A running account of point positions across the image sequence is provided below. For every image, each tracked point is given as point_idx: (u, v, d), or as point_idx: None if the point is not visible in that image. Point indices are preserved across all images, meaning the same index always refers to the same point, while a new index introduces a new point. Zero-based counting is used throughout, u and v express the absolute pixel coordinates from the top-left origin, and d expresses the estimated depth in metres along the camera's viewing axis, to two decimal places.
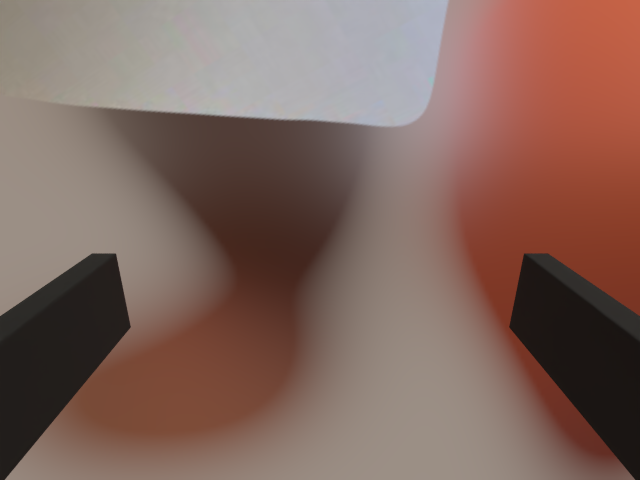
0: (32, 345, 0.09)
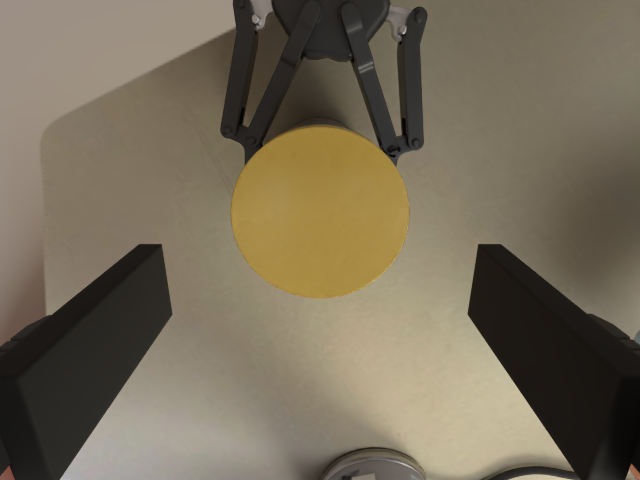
0: (102, 325, 0.09)
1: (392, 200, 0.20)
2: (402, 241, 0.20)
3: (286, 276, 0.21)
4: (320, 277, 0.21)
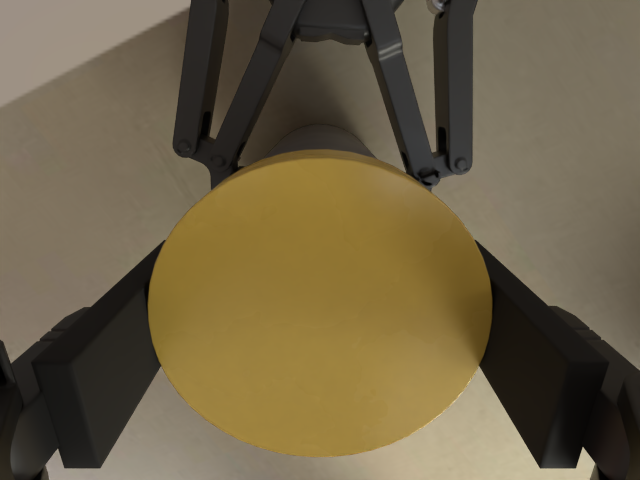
0: (137, 316, 0.10)
1: (461, 297, 0.10)
2: (475, 368, 0.11)
3: (258, 424, 0.12)
4: (320, 425, 0.12)
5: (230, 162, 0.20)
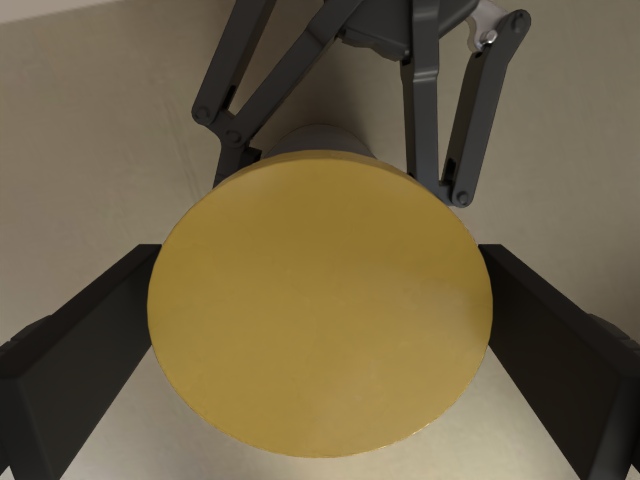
0: (101, 325, 0.09)
1: (297, 194, 0.09)
2: (396, 178, 0.09)
3: (423, 398, 0.11)
4: (440, 344, 0.10)
5: (245, 141, 0.20)
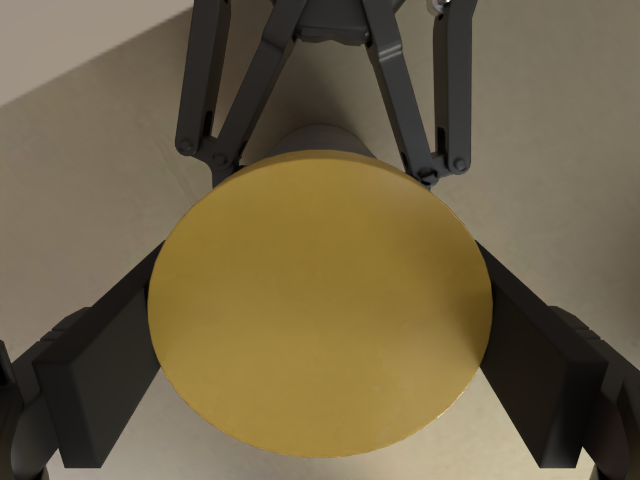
0: (137, 316, 0.10)
1: (260, 203, 0.09)
2: (351, 165, 0.09)
3: (441, 376, 0.11)
4: (443, 319, 0.10)
5: (232, 161, 0.21)
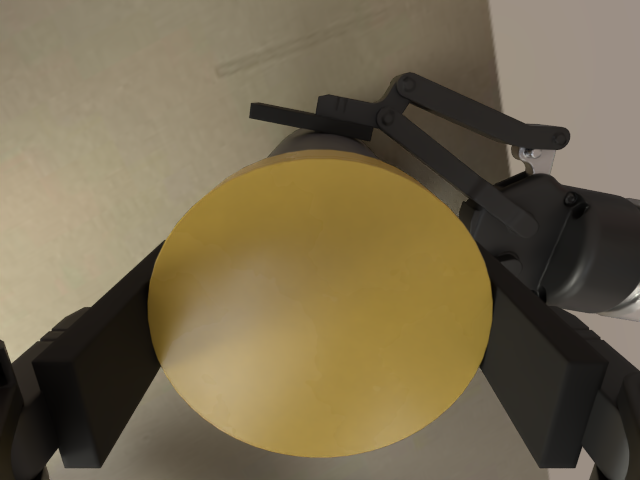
0: (138, 316, 0.10)
1: (260, 203, 0.09)
2: (351, 165, 0.09)
3: (441, 375, 0.11)
4: (443, 319, 0.10)
5: (384, 130, 0.20)
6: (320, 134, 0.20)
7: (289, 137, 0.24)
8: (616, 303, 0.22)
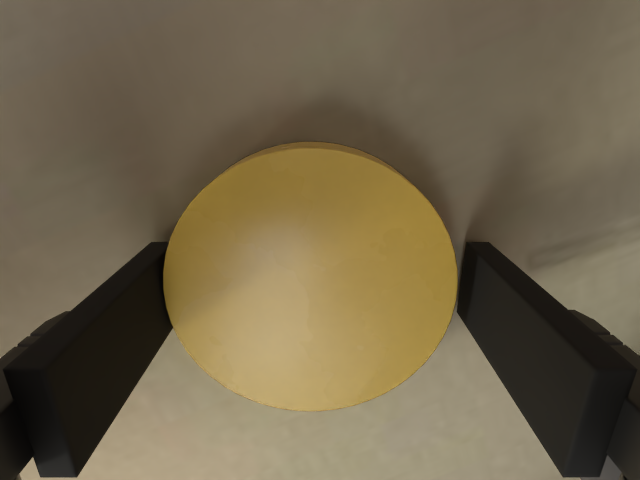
0: (119, 320, 0.10)
1: (260, 186, 0.11)
2: (336, 153, 0.11)
3: (416, 336, 0.13)
4: (416, 285, 0.12)
5: None
6: None
7: None
8: None
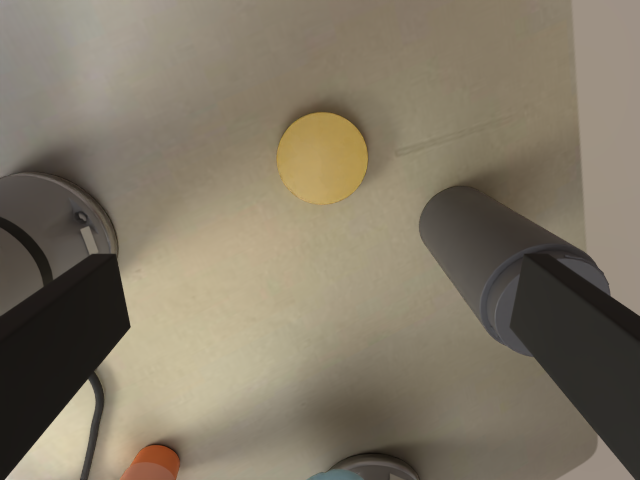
0: (32, 345, 0.09)
1: (307, 123, 0.38)
2: (329, 114, 0.37)
3: (355, 174, 0.39)
4: (354, 156, 0.39)
5: None
6: (493, 206, 0.34)
7: (455, 200, 0.38)
8: None
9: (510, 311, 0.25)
